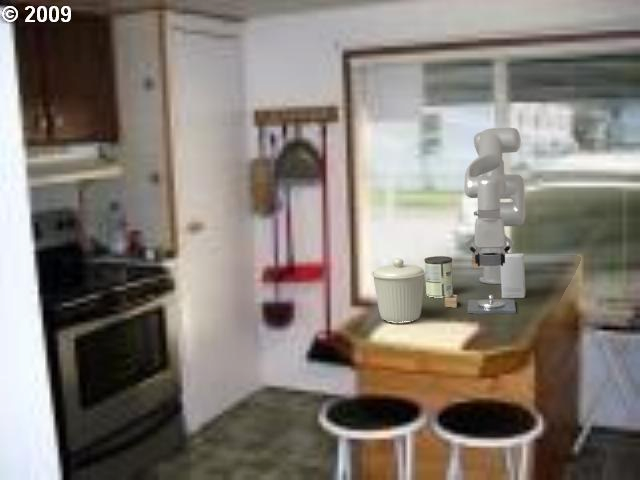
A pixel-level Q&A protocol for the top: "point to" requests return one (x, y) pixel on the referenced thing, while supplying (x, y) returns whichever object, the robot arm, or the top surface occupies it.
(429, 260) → the coffee can
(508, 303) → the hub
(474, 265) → the dish frame
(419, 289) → the canister
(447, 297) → the stand
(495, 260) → the plate ring
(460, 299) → the top surface
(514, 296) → the skincare box
